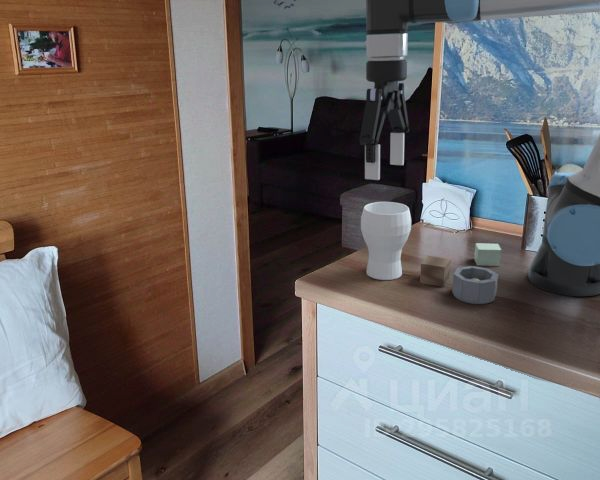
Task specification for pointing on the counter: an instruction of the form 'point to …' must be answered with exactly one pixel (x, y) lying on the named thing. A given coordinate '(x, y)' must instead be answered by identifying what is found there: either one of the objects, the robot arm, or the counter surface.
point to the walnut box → (435, 271)
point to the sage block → (487, 254)
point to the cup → (385, 237)
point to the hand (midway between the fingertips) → (385, 171)
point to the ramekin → (475, 285)
